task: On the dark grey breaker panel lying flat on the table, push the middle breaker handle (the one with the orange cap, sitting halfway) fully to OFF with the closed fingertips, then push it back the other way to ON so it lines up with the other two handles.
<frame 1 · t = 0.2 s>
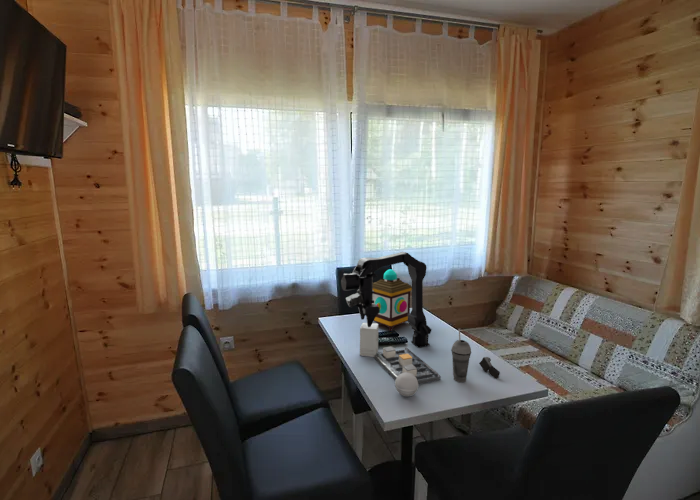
hand: (365, 323, 157), 14 cm above the table, tool pointing down, fingers open, 9 cm apart
breaker far: (389, 352, 153), point 4 cm above the table, slide at 3.0 cm
breaker near: (409, 371, 138), point 4 cm above the table, slide at 3.0 cm
decorative lantern: (389, 324, 195), on the table
bath bomb: (406, 395, 128), on the table
supplement box: (369, 353, 161), on the table
breaker tripped: (405, 360, 147), point 4 cm above the table, slide at 0.0 cm
beverage cup: (459, 379, 138), on the table
black bow tie: (489, 373, 143), on the table
panel: (405, 368, 147), on the table
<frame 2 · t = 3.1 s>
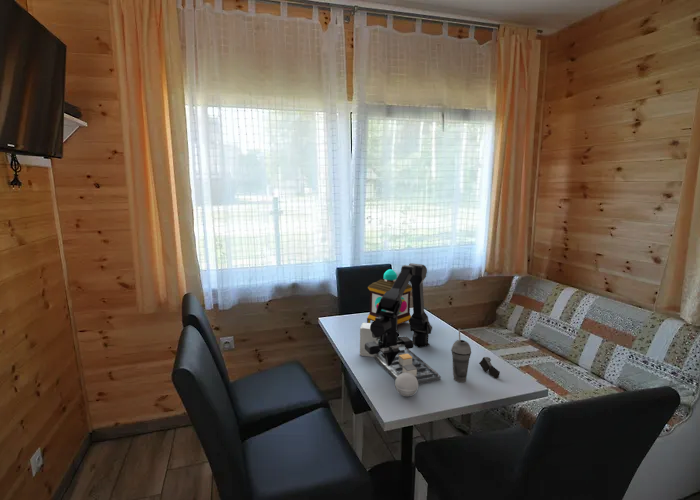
hand: (388, 365, 144), 3 cm above the table, tool pointing down, fingers closed
nothing on the table moved.
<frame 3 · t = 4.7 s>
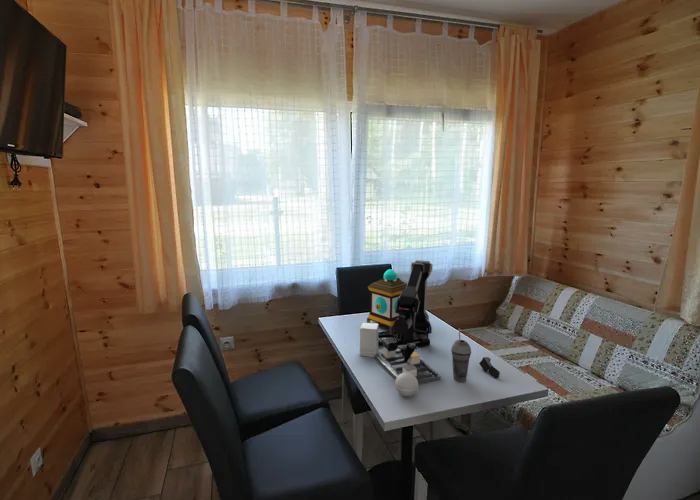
hand: (405, 362, 147), 3 cm above the table, tool pointing down, fingers closed
breaker tripped: (413, 358, 148), point 4 cm above the table, slide at -3.6 cm, touching gripper
everything else where it was.
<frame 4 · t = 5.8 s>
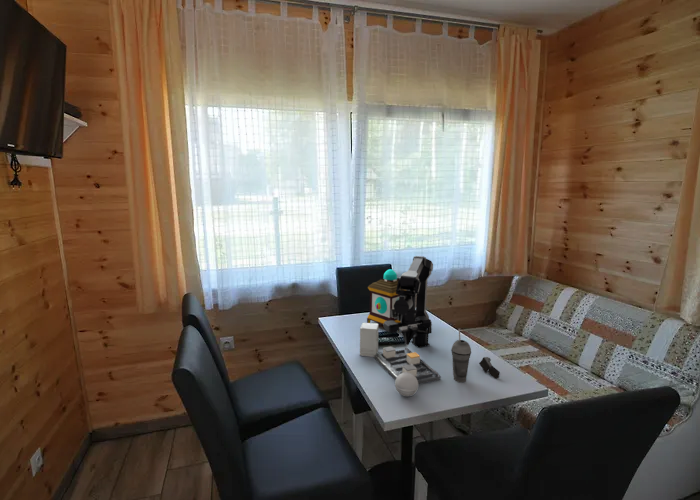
hand: (407, 344, 145), 10 cm above the table, tool pointing down, fingers closed
breaker tripped: (413, 358, 148), point 4 cm above the table, slide at -3.5 cm
everything else where it was.
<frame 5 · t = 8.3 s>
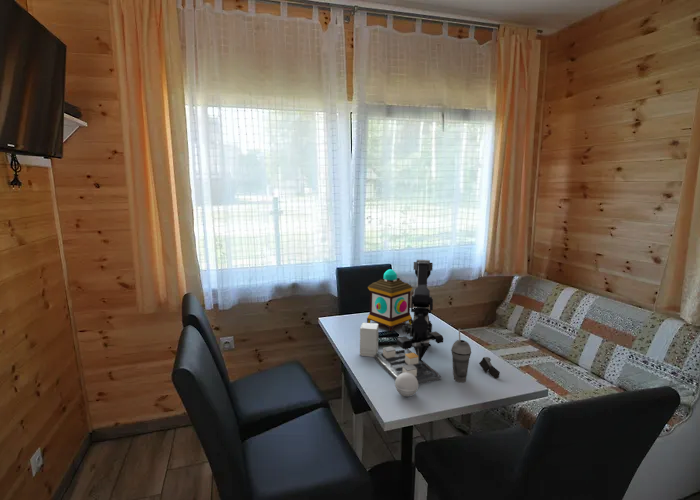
hand: (419, 359, 149), 3 cm above the table, tool pointing down, fingers closed
breaker tripped: (411, 359, 147), point 4 cm above the table, slide at -2.8 cm, touching gripper
everything else where it was.
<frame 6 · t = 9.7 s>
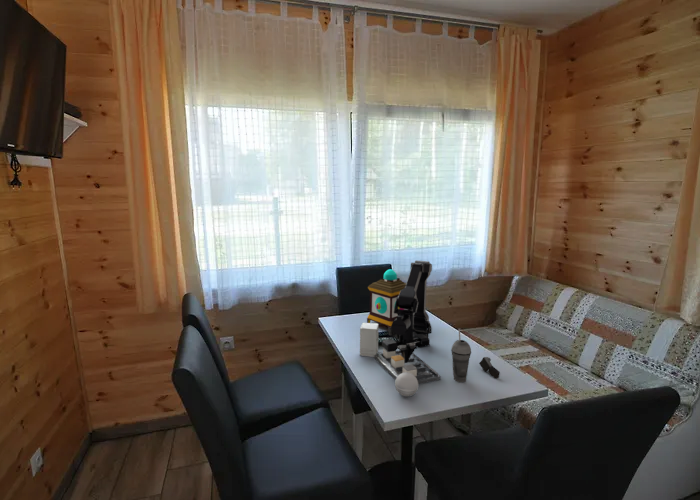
hand: (405, 362, 147), 3 cm above the table, tool pointing down, fingers closed
breaker tripped: (397, 361, 145), point 3 cm above the table, slide at 3.6 cm, touching gripper
everything else where it was.
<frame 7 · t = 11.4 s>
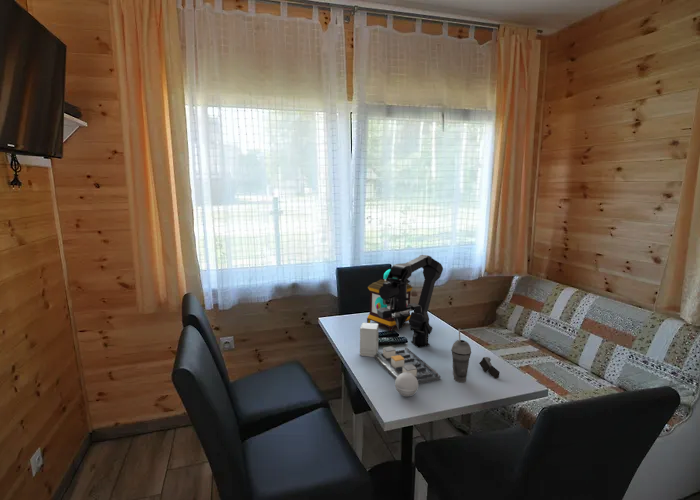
hand: (399, 329, 157), 12 cm above the table, tool pointing down, fingers closed
breaker tripped: (397, 361, 145), point 3 cm above the table, slide at 3.5 cm
everything else where it was.
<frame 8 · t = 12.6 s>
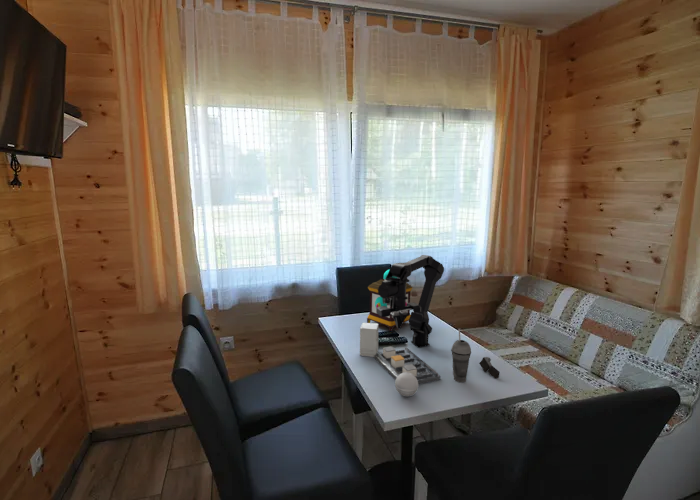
hand: (398, 328, 157), 12 cm above the table, tool pointing down, fingers closed
nothing on the table moved.
at the end: breaker tripped slide at 3.5 cm; breaker near slide at 3.0 cm; breaker far slide at 3.0 cm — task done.
